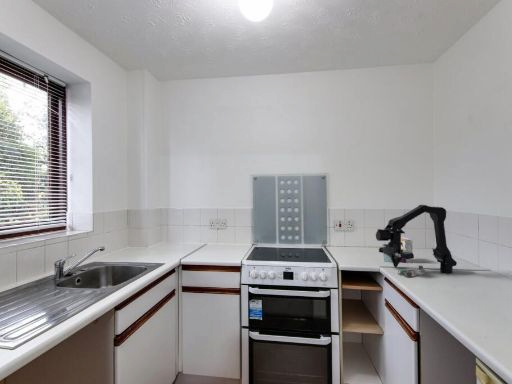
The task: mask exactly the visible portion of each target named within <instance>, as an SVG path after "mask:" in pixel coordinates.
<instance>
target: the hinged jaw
mask: <svg viewBox="0 0 512 384" xmlns="http://www.w3.org/2000/svg"><path fill="white" fill-rule="evenodd" d="M414 270H419V267H417V268H408V269H404V268H403V269H397V275H398V276H404V272H407V271H414Z"/></svg>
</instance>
